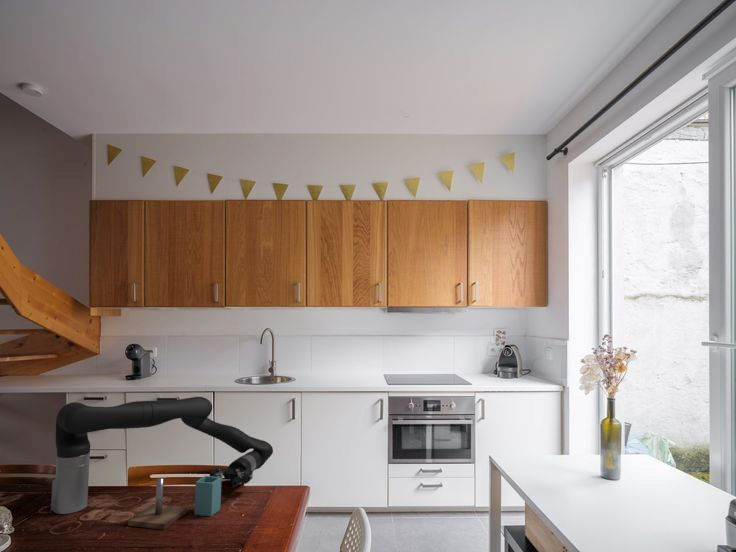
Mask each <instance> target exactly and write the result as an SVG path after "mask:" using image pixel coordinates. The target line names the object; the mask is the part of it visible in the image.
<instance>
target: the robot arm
mask: <svg viewBox="0 0 736 552" xmlns="http://www.w3.org/2000/svg"><path fill="white" fill-rule="evenodd" d="M212 411H213V404H212V402H211V401H210V400H209V399H208V398H206V397H204V396H203V397H202V396H192V397H188V398H187V397H185V398H180V399H178V398H177V399H163V400H160V399H159V400H140V401H139V400H136V401H129V402H126V403H122V404H119V405H115V406H114V405H113V406H93V405H92V406H91V405H86V404H84V403H82V402H77V401H74V402H73V401H72V402H69V403H67V404H64V405H63V406H61V408H60V410H58V413H57V414H56V420H55V421H56V422H55V447H56V460H55V461H56V462H55V463H56V465H55V478H53V479H52V481H51V482H52V484H51V499H50V501H51V502H50V511H52V512H54V513H55V514H58V515H67V514H73V513H77V512H79V511H83V510H84V509H85V508H87V507H88V495H89V479H90V478H89V477H90V476H89V475H90V462H91V460H90V459H91V442H90V439H89V435H88V433H93V432H99V431H104V430H116V429H117V430H122V429H123V430H124V429H125V430H126V429H128V430H129V429H143V428H144V429H145V428H151V427H152V428H153V427H155V426H158V425H159V426H160V425H162V424H165V423H168V422H170V421H173V420H177V419H180V420H181V421H182V423H183V424H185V425H186V426H187V427H189V428H191V429H193V430H196V431H199V432H201V433H202V434H206V435H208V436H210V437H213V438H214V439H217V440H219V441H221V442H222V443H224V444H226V445H228V446H229V447H230V448H232V449H234V450H235V451H236V452H238V453H240V454H244V453H245V454H244V455H241V456H239V457H238V458H237V459H236V458H235V460H234V461H232V462H231V463H230V464H229V465H228V467H227V468H226V469H221V467H217V468H215V469H214V470H212V471H210V472H209V476H213V477H221V482H225V481H232V482H231V487H232V488H236V487H237V486H238V485H241V484H244V485H247V484H249V482H250V481H251V480H252V479H253V476H254V475H253V474H254V471H255V470H260V468H261V467H262V466H263V465H265V463H266V462H267V461H268V459H270V457H271V456H272V455H273V453H274V448H273V446H272V445H271V444H270V443H269V442H268V441H266V440H264V439H258V438H256V437H253V436H250V435H248V434H247V433H245V432H244V431H242V430H241V429H239V428H237V427H235V426H232V425H228V424H224V423H219V422H216V421H214V420H212V419H211V418H210V417H209V416H210V414H211V413H212ZM249 450H251V451H249ZM247 451H249V452H247Z"/></svg>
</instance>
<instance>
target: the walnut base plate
mask: <svg viewBox="0 0 736 552" xmlns="http://www.w3.org/2000/svg"><path fill="white" fill-rule="evenodd" d="M155 505H156V503H154V504H153V503H152V504H151V505H150V506H148V507H147V508H145V509H143V510H142V511H140V512H138V513H137V514H136V515H134V516H133V517H131V518H129V519H128V520H127V526H128V527H139V528H148V529H157V530H166V529H167V528H168V527H170V526H171V525H173V524H174V523H175V522H176V521H177V520H179V519H180V518H181V517H183V516H184V515H186V514H187V513H188V507H185V506H176V505H174V506H173V505H166V504H165V505H164V504H163V505H162V514H161V515H155Z"/></svg>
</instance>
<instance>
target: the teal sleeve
mask: <svg viewBox="0 0 736 552" xmlns="http://www.w3.org/2000/svg"><path fill="white" fill-rule="evenodd" d="M194 488H195V491H194V514H193V515H195V516H196V515H197V516H204V517H205V516H206V517H212V516H214V515H215V514H216V513H217V512H219V510H221V500H222V499H221V498H222V481H221V477H213V476H210V475H204V476H202V477H201V478H199V479H198V480H196V481H195V486H194Z"/></svg>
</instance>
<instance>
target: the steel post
mask: <svg viewBox="0 0 736 552" xmlns="http://www.w3.org/2000/svg"><path fill="white" fill-rule="evenodd" d="M155 483H156V485H155V486H156V488H155V504H156V505H155V515H161V514H162V505H164V504H163V503H164V500H163V499H164V477H157V478H156V482H155Z"/></svg>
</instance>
